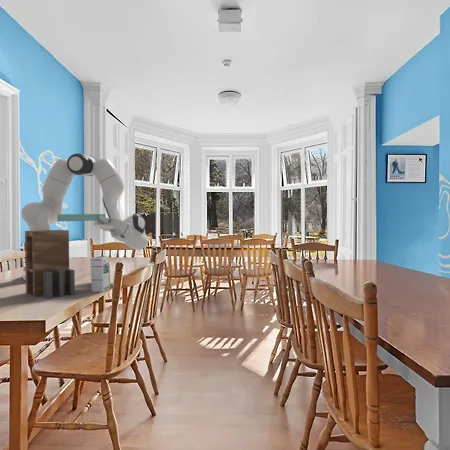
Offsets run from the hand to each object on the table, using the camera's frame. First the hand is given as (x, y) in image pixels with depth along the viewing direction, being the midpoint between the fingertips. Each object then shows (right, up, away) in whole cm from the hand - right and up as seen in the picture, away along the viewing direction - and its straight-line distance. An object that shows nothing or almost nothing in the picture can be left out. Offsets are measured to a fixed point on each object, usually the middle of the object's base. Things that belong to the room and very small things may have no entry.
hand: (96, 216), depth 175 cm
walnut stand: (-15, -32, -15) cm, 39 cm away
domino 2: (-8, -33, -22) cm, 40 cm away
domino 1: (-11, -33, -25) cm, 42 cm away
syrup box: (+6, -32, -12) cm, 35 cm away
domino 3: (-5, -32, -19) cm, 38 cm away
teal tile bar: (-5, -2, -5) cm, 7 cm away
